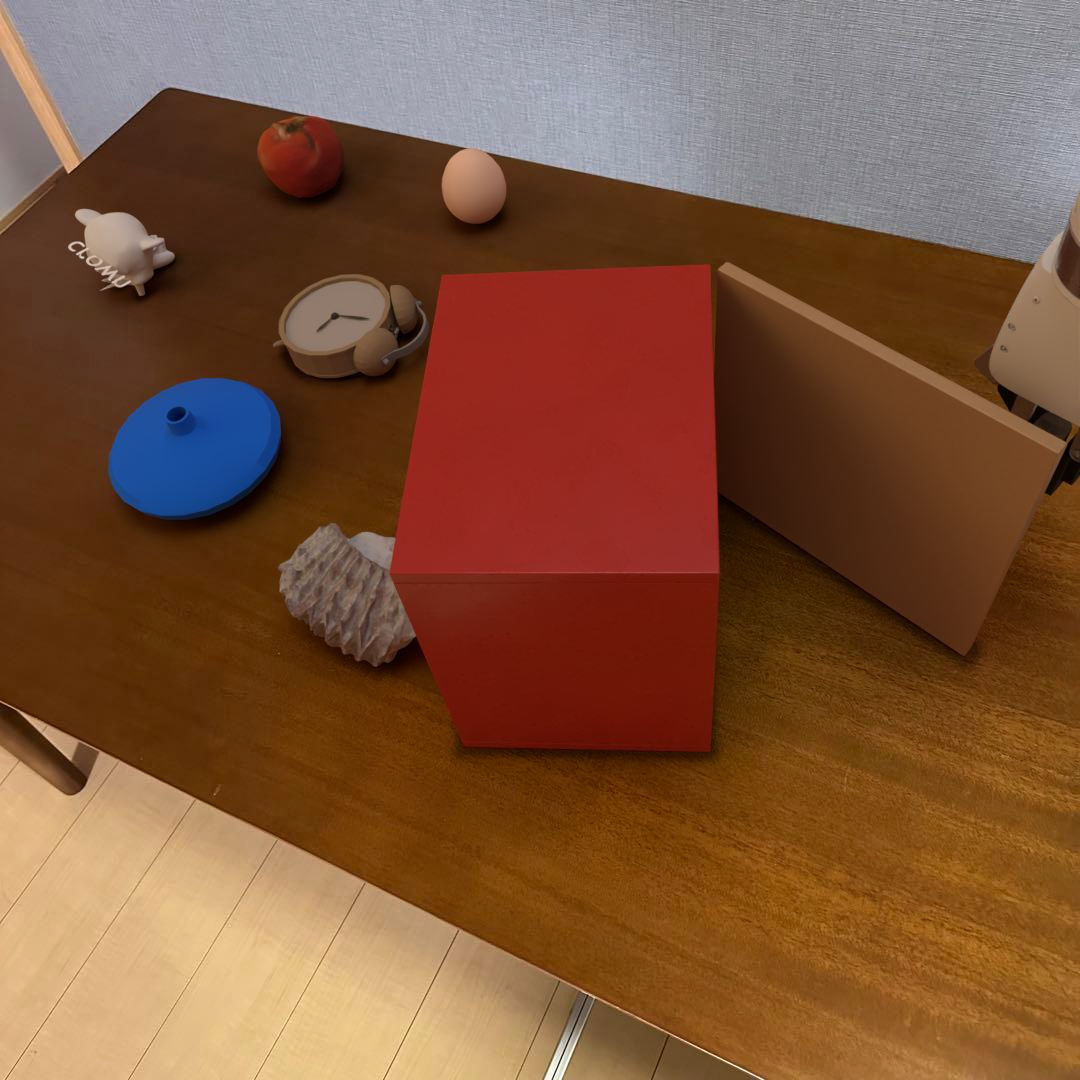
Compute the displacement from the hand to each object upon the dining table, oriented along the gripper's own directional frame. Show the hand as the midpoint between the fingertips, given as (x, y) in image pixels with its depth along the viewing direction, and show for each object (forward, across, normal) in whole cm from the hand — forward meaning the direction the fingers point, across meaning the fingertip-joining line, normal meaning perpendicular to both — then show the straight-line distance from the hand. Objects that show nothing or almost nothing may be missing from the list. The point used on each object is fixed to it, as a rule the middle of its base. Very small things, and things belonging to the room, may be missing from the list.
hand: (1038, 468), depth 70 cm
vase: (+13, +58, +35) cm, 69 cm away
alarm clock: (+13, +59, +16) cm, 62 cm away
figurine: (+13, +85, +25) cm, 90 cm away
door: (+13, +9, +4) cm, 16 cm away
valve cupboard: (+13, +21, +23) cm, 33 cm away
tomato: (+13, +83, +3) cm, 84 cm away
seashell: (+13, +35, +34) cm, 51 cm away
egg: (+13, +63, -4) cm, 64 cm away
